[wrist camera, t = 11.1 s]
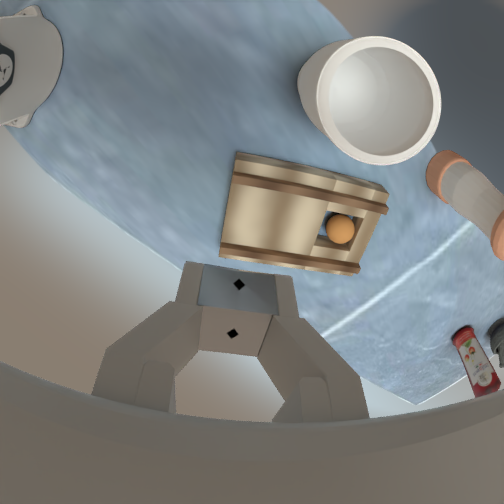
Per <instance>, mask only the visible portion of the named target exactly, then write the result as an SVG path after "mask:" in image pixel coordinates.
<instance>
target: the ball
mask: <svg viewBox="0 0 504 504" xmlns="http://www.w3.org/2000/svg"><path fill="white" fill-rule="evenodd" d="M354 231H355V227H354V224H353V222H352V220H351V219H350V218H349V217H348V216H346V215H342V214H338V215H335V216H333V217H331V218H330V219H329V221H328V222H327V225H326V233H327V235H328V237H329V239H330V240H332V241H333V242H335V243H338V244H343V243H346V242H348V241H349V240H350V239H351V238H352V237H353V235H354Z"/></svg>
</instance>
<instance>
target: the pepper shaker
mask: <svg viewBox="0 0 504 504" xmlns="http://www.w3.org/2000/svg"><path fill="white" fill-rule="evenodd" d="M426 181H427V185H428V187H429V188H430V190H431V191H432V192H433V193H434V194H436V195H437V196H438V197H439V198H440V199H441V200H442V201H443V202H445V203H447V204H450V205H451V206H452V207H453V208H454V209H455V211H456V212H458V213H459V214H460V215H462V216H463V217H465V218H466V219H468V220H469V221H471V222H472V223H474V224H475V225H476V226H477V227H478V228H479V229H480V230H481V231H482V232H483V233H484V234H485V235H486V236H487V237H488V238H489V239H490V243H491V247H492V249H493V252H494V255H495V256H497V257H498V258H499V259H501V260H503V261H504V195H503V194H502V193H501V192H500V191H498V190H497V189H496V188H495V187H494V186H493V185H492V184H491V182H490V181H489V180H488V179H487V178H486V177H485V176H484V175H483V174H482V173H481V172H480V171H478V170H477V169H475V168H474V167H472V166H471V164H470V163H469V162H468V161H467V160H466V159H464V158H463V157H461V156H460V155H458V154H457V153H455V152H453V151H450V150H443V151H441V152H439V153H437V154H436V155H435V156H434V157H433V158H432V159H431V161H430V163H429V164H428V167H427V171H426Z"/></svg>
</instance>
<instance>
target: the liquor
mask: <svg viewBox="0 0 504 504" xmlns="http://www.w3.org/2000/svg"><path fill="white" fill-rule="evenodd" d="M453 345H455V346H456V348H457V350H458V352H459V355H460V357H461V359H462V362H463V364H464V367H465V370H466V372H467V375H468V378H469V381H470V384H471V386H472V389H473V392H474V395H475V398H477V397H481V396H484V395H487V394H490V393H494V392H497V391H498V389H499V387H500V385H501V382H500V380H499V378H498V376H497V374H496V372H495V370H494V368H493V366H492V365H491V363H490V361H489V359H488V357H487V356H486V354H485V352H484V350H483V349H482V347H481V345H480V343H479V342H478V340H477V338H476V336H475V334H474V329H473V328H468V327H465V328H462V329H461V330H459V331H458V332H457V333H456V335H455V337H454V340H453Z"/></svg>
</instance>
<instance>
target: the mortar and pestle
mask: <svg viewBox="0 0 504 504" xmlns="http://www.w3.org/2000/svg"><path fill="white" fill-rule="evenodd" d="M489 334H490V335H491V339H490V345H491V349H492V352H493V354H499V361H500V368H502V367H504V319H502V318H501V319H499V320H497V321H496V322H495V323H494V324H493V325H492V326H491V327H490V329H489Z"/></svg>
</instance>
